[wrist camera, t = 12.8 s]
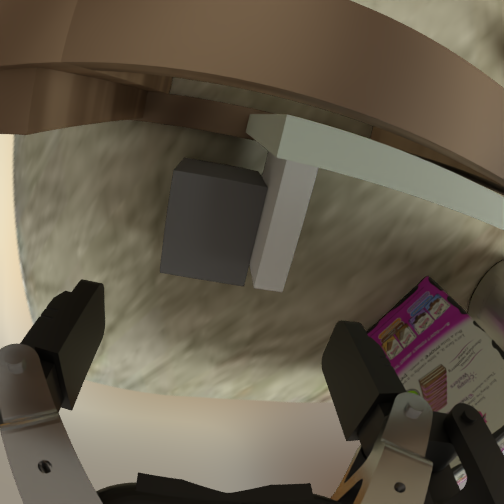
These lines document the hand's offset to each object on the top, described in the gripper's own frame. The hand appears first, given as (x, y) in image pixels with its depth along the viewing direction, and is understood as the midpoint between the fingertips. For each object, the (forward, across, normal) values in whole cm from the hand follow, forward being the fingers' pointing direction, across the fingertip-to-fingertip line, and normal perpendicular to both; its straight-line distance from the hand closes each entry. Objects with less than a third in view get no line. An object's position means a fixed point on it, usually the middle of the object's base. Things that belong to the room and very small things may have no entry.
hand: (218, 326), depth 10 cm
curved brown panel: (+13, -4, -8) cm, 15 cm away
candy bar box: (+13, -18, +8) cm, 24 cm away
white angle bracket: (+12, -8, -3) cm, 15 cm away
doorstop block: (+13, +1, 0) cm, 13 cm away
